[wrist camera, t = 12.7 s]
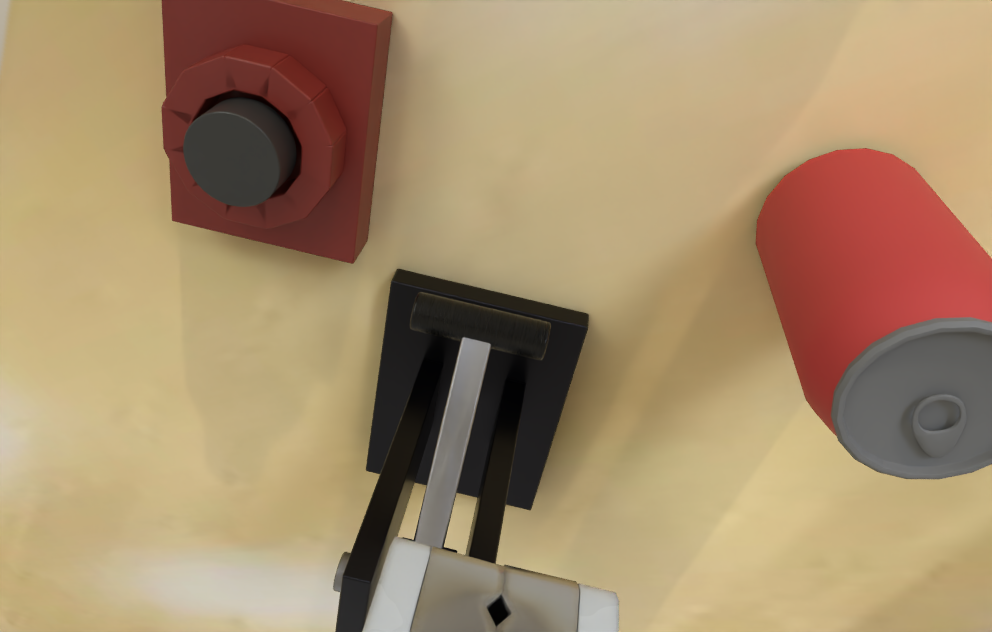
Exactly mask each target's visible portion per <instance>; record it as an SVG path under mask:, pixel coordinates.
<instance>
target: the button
mask: <svg viewBox="0 0 992 632" xmlns="http://www.w3.org/2000/svg"><path fill="white" fill-rule="evenodd" d="M183 153H184V159H185V163H186V166H187V168H188V170H189V172H190V174H191V176H192V177H193V179H194V180H195V182H196V183H197V184H198V185H199V186H200V187H201V189H202V190H204V191H205V192H206V193H207V194H208V195H210V196H211V197H213V198H214V199H216V200H218V201H220V202H222V203H225V204H228V205H231V206H237V207H250V206H255V205H258V204H260V203H262V202H264V201H266V200H267V199H268V198H270V197H271V196H272V194H273V193H274V192H275V191H276V190H277V189H278V188H279V187H280V186H281V185H282V184H283V183H284V182H285V181H286V180H287V179H288V177H289V176H290V175H291V173H292V171H293V169H294V167H295V163H296V157H297V152H296V144H295V140H294V137H293V134H292V132H291V130H290V128H289V126H288V125H287V123H286V122H285V121H284V119H283V118H282V117H281V116H280V115H279V114H278V113H277V112H276V111H275V110H273V109H272V108H271V107H269V106H267V105H266V104H264V103H262V102H260V101H257V100H254V99H250V98H245V97H236V98H230V99H226V100H224V101H222V102H220V103H218V104H217V105H215V106H214V107H213V108H211V109H210V110H208V111H207V112H205V113H204V114H202V115H201V116H199V117H198V118H197V119H195V120H194V121H193V122H192V123H191V125H190V126H189V128H188V130H187V131H186V134H185V137H184V143H183Z"/></svg>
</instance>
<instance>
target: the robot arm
mask: <svg viewBox="0 0 992 632" xmlns="http://www.w3.org/2000/svg"><path fill="white" fill-rule="evenodd" d="M431 548H432V551H431ZM430 553H431V555H430ZM429 557H430V558H429ZM428 561H429V562H428ZM362 632H619V600H618V597H617V595H616V593H615V592H612V591H608V590H604V589H600V588H596V587H591V586H587V585H583V584H577V582H576V581H571V580H567V579H563V578H559V577H554V576H550V575H546V574H542V573H538V572H533V571H529V570H525V569H521V568H516V567H512V566H508V565H504V566H501V565H498V564H494V563H491V562H487V561H484V560H480V559H476V558H473V557H469V556H466V555H462V554H459V553H455V552H451V551H448V550H444V549H441V548H437V547H434V546H433V547H432V546H430V545H426V544H423V543H419V542H415V541H411V540H407V539H403V538H399V537H396V536H395V538H394V540H393V542H392V543H391V545H390V547H389V551H388V554H387V557H386V560H385V563H384V566H383V569H382V572H381V575H380V579H379V582H378V585H377V588H376V591H375V594H374V597H373V600H372V603H371V606H370V610H369V613H368V616H367V619H366V622H365V625H364V628H363V631H362Z"/></svg>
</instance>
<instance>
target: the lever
mask: <svg viewBox="0 0 992 632" xmlns="http://www.w3.org/2000/svg"><path fill="white" fill-rule="evenodd" d="M410 329H411V330H414V331H418V332H423V333H427V334H431V335H435V336H439V337H444V338H448V339H452V340H456V341H460V342H461V344H460V348H459V352H458V356H457V360H456V365H455V369H454V373H453V377H452V381H451V386H450V390H449V394H448V398H447V403H446V407H445V411H444V415H443V419H442V424H441V428H440V432H439V436H438V440H437V445H436V449H435V453H434V457H433V461H432V466H431V470H430V474H429V478H428V483H427V487H426V491H425V495H424V499H423V504H422V508H421V512H420V516H419V520H418V525H417V529H416V533H415V537H414V540H412V539H408V538H404V537H403V539H407V540H411V541H415V542H419V543H423V544H426V545H430V546H432V547H433V546H434V547H437V548H441V549H444V550H448V551H451V552H455V553H457V550H453V549H449V548H445V547H444V543H445V539H446V534H447V530H448V526H449V522H450V518H451V513H452V509H453V505H454V501H455V497H456V492H457V488H458V484H459V480H460V476H461V471H462V467H463V463H464V459H465V455H466V450H467V446H468V442H469V438H470V433H471V429H472V425H473V421H474V417H475V412H476V408H477V404H478V400H479V396H480V391H481V387H482V383H483V379H484V375H485V370H486V366H487V362H488V358H489V354H490V349H494V350H498V351H502V352H507V353H511V354H515V355H519V356H523V357H528V358H532V359H536V360H542V359H543V358H544V355H545V351H546V347H547V343H548V339H549V335H550V329H551V324H550V323H549V322H546V321H541V320H537V319H533V318H529V317H525V316H520V315H516V314H512V313H508V312H504V311H499V310H495V309H491V308H487V307H483V306H478V305H474V304H470V303H466V302H462V301H457V300H453V299H449V298H445V297H440V296H436V295H432V294H428V293H424V292H419V293H418V295H417V297H416V299H415V302H414V306H413V310H412V314H411V320H410ZM431 551H432V548H431ZM430 555H431V553H430ZM429 558H430V557H429ZM428 562H429V561H428Z"/></svg>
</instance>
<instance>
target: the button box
mask: <svg viewBox="0 0 992 632" xmlns="http://www.w3.org/2000/svg"><path fill="white" fill-rule="evenodd" d="M392 15H393V14H392V12H389V11H385V10H380V9H376V8H372V7H368V6H363V5H359V4H355V3H351V2H346V1H342V0H162V17H163V37H164V58H165V79H166V99H165V100H164V102H163V105H162V125H163V144H164V149H165V152H166V154H167V156H168V158H169V163H170V184H171V205H172V221H175V222H179V223H184V224H188V225H192V226H196V227H200V228H205V229H209V230H213V231H217V232H221V233H226V234H230V235H234V236H238V237H242V238H247V239H251V240H255V241H259V242H263V243H268V244H272V245H276V246H280V247H285V248H289V249H293V250H297V251H301V252H306V253H310V254H314V255H318V256H322V257H327V258H331V259H335V260H339V261H343V262H348V263H352V264H353V263H354V262H355V260H356V259H357V257H358V255H359V254H360V252H361V250H362V249H363V247H364V245H365V244H366V242H367V240H368V231H369V222H370V213H371V204H372V195H373V186H374V177H375V168H376V159H377V150H378V141H379V132H380V123H381V114H382V105H383V96H384V87H385V78H386V69H387V60H388V51H389V42H390V33H391V24H392ZM236 97H245V98H250V99H254V100H257V101H260V102H262V103H264V104H266V105H267V106H269V107H271V108H272V109H273V110H275V111H276V112H277V113H278V114H279V115H280V116H281V117H282V118H283V119H284V121H285V122H286V123H287V125H288V126H289V128H290V130H291V132H292V134H293V137H294V140H295V144H296V152H297V157H296V163H295V167H294V169H293V171H292V173H291V175H290V176H289V177H288V179H287V180H286V181H285V182H284V183H283V184H282V185H281V186H280V187H279V188H278V189H277V190H276V191H275V192H274V193H273V194H272V196H271V197H270V198H268V199H267V200H266V201H264V202H262V203H260V204H258V205H255V206H250V207H237V206H231V205H228V204H225V203H222V202H220V201H218V200H216V199H214V198H213V197H211V196H210V195H208V194H207V193H206V192H205V191H204V190H202V189H201V187H200V186H199V185H198V184H197V183H196V182H195V180H194V179H193V177H192V176H191V174H190V172H189V170H188V168H187V166H186V163H185V159H184V153H183V143H184V137H185V134H186V131H187V130H188V128H189V126H190V125H191V123H192V122H193V121H194V120H195V119H197V118H198V117H199V116H201V115H202V114H204V113H205V112H207V111H208V110H210V109H211V108H213V107H214V106H215V105H217V104H218V103H220V102H222V101H224V100H226V99H230V98H236Z"/></svg>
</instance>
